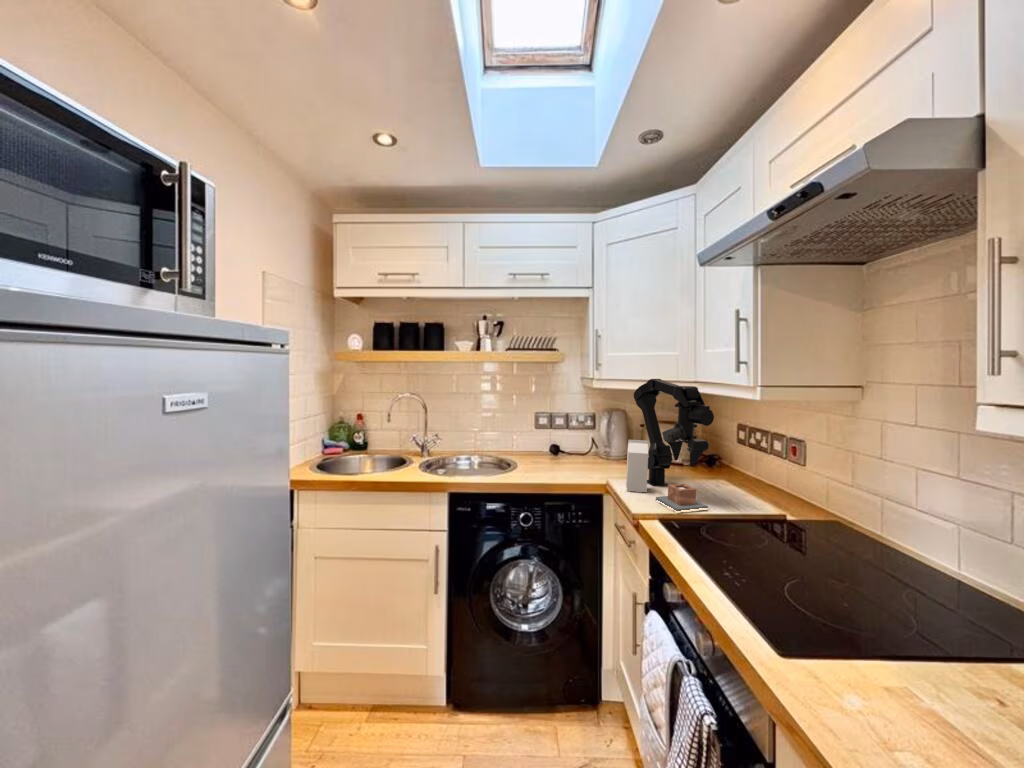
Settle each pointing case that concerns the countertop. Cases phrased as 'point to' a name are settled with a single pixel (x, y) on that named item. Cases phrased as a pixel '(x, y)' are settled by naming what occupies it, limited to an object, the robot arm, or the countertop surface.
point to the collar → (681, 494)
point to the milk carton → (637, 465)
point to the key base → (680, 507)
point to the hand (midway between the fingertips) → (683, 463)
